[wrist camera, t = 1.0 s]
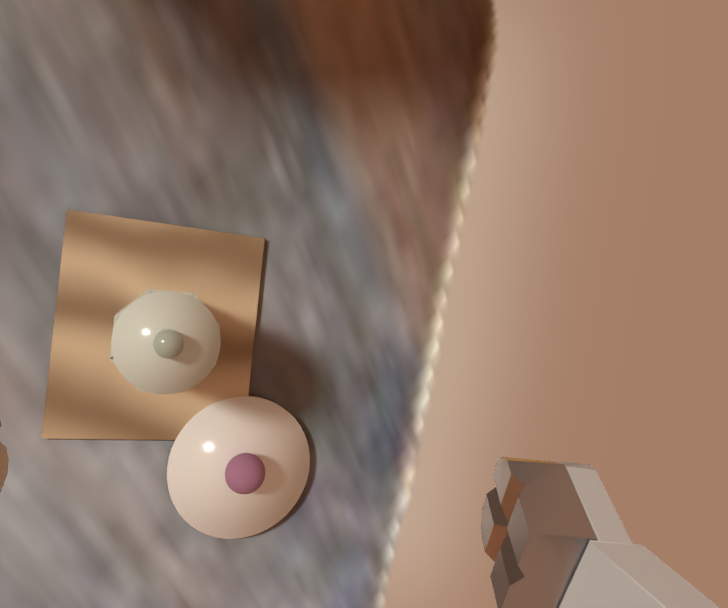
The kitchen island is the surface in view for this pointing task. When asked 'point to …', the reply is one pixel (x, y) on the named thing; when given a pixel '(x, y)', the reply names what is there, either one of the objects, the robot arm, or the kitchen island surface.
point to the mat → (117, 289)
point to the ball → (245, 473)
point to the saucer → (214, 451)
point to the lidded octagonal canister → (165, 341)
